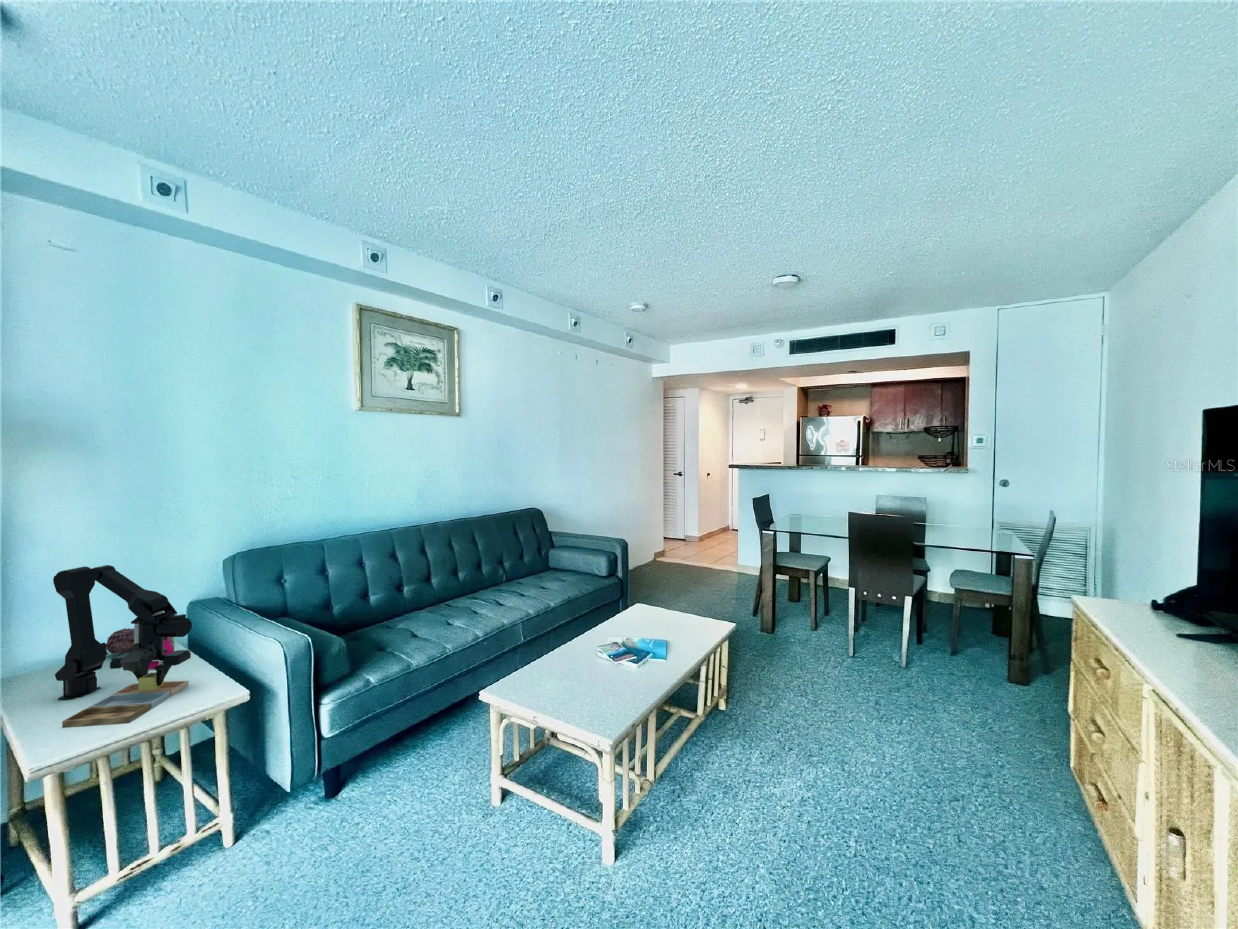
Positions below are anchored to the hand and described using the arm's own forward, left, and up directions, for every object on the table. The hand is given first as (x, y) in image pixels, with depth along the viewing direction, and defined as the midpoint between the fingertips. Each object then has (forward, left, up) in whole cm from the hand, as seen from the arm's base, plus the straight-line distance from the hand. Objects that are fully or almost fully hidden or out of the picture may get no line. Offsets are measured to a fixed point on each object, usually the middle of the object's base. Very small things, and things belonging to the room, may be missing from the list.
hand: (151, 686), depth 149 cm
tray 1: (0, -15, -2) cm, 15 cm away
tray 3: (0, 0, -2) cm, 2 cm away
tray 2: (0, -8, -2) cm, 8 cm away
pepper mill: (-14, +23, -3) cm, 27 cm away
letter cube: (0, 0, 0) cm, 0 cm away
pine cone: (-34, +35, -3) cm, 49 cm away
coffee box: (-20, +29, -3) cm, 35 cm away
